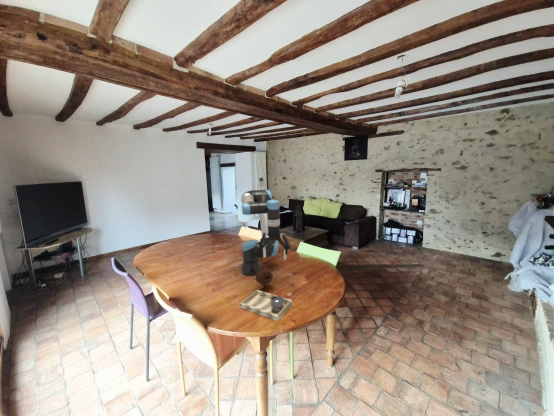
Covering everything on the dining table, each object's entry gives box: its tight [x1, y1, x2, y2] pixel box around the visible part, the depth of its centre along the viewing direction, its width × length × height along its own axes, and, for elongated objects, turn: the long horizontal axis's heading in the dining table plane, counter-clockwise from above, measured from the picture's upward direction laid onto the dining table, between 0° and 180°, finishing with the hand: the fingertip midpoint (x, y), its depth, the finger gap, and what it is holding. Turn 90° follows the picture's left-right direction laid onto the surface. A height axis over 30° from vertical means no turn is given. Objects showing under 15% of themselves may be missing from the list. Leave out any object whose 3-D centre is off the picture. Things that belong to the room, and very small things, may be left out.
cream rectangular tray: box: [239, 289, 293, 322], centre depth 124 cm, size 24×16×4 cm, turn 60°
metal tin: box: [271, 295, 284, 313], centre depth 120 cm, size 6×6×6 cm
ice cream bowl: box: [255, 267, 274, 291], centre depth 141 cm, size 11×11×15 cm
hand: (274, 258), depth 142 cm, fingers open, 13 cm apart
